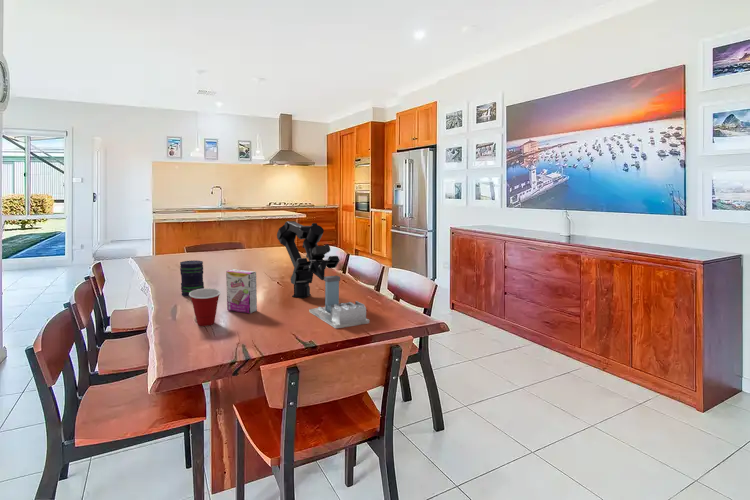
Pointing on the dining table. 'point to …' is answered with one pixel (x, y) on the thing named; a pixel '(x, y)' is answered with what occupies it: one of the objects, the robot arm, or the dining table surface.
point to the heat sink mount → (342, 314)
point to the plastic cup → (205, 305)
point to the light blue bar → (331, 291)
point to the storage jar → (191, 276)
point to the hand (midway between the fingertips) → (323, 279)
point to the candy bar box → (241, 291)
